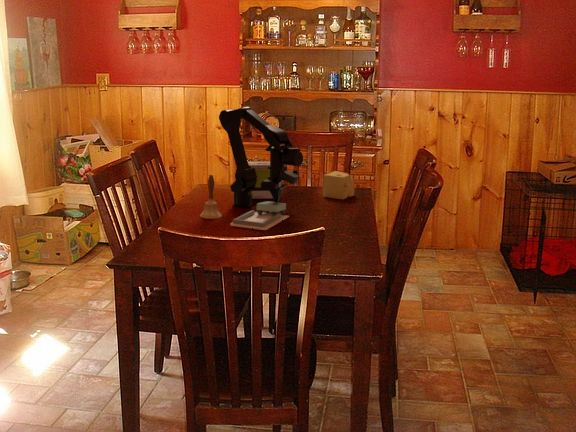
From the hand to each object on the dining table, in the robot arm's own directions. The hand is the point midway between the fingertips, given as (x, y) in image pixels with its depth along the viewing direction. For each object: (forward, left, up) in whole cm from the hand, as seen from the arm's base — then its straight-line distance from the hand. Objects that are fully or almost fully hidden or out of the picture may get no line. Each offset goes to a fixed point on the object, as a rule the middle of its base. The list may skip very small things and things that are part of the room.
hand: (276, 202), depth 272 cm
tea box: (-17, +23, -4) cm, 29 cm away
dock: (0, -15, -4) cm, 15 cm away
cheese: (+12, +39, -4) cm, 41 cm away
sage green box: (0, -6, -3) cm, 7 cm away
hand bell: (-20, -17, -4) cm, 26 cm away
